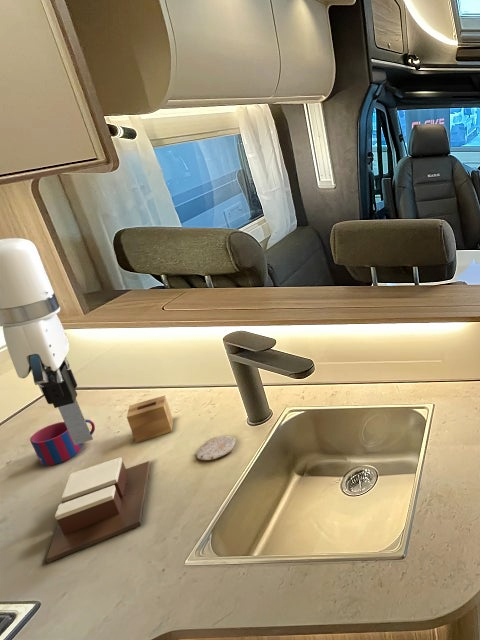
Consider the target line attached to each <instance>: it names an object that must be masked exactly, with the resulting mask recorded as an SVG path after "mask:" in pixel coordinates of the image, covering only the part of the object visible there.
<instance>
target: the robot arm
mask: <svg viewBox="0 0 480 640" xmlns="http://www.w3.org/2000/svg"><path fill="white" fill-rule="evenodd" d="M57 299H58V298H57V297H56V294H55V291H54V288H53V287H52V285H51V282H50V278H49V276H48V274H47V271H46V269H45V266H44V265H43V261H42V259H41V257H40V254H39V251H38V249H37V246H36V245H35V244H34V243H33V242H32V241H31V240H30V239H26V238H19V237H10V238H8V237H7V238H0V327H2V333H3V338H4V341H5V345H6V348H7V351H8V354H9V357H10V359H11V362H12V365H13V367H14V370H15V372H16V375H17V378H19V379H26V378H27V377H28V376H29V375H30V373H32V379H33V383H34V385H35V386H37V385H38V386H39V389H41V392H42V395H43V397H44V398H45V401H46V403H47V404H48V405H53V403H57V402H61V401H65V400H68V399H71V398H72V396H73V395H72V393H71V390H70V388H69V385H68V383H67V381H66V379H65V380H63V378H62V375H61V372H60V370H59V367H60V366H61V365H66V368H67V370H68V373H69V375H70V377H71V380H72V382H73V385H74V387H75V389H76V388H77V387H78V383H77V380H76V378H75V376H74V373H73V371H72V368H71V365H70V363H69V361H68V359H67V355H68V353H69V351H70V342H69V340H68V336H67V333H66V330H65V329H64V326H63V324H62V322H61V319H60V318H59V316H58V313H60V311H61V306H60V304H59V302H58V300H57ZM51 372H53V373H54V376H53V375H46V374H47V373H51Z"/></svg>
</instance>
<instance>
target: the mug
mask: <svg viewBox="0 0 480 640" xmlns="http://www.w3.org/2000/svg"><path fill="white" fill-rule="evenodd" d="M85 421H86V423H89V424H90V426H91V429H90V430H89V431H90V433H91V436H92V435H93V434H94V432H95V429H96V426H95V423H94V421H93V420H91V419H85ZM29 442H30V444H31V446H32V448H33V450H34V452H35V454H36V456H37V458H38V460H39V462H40V464H41V465H42V466H46V467H48V466H55V465H58V464H61V463H63V462H67V460H70V459H72V458H73V457H74V456H76V455H77V454H78V453H79V452H80V451H81V449H82V443H81V444H77V445H74V443H73V441H72V438H71V436H70V434H69V431H68V429H67V427H66V425H65V422H64V421H59V422H55V423H52V424H49V425H47V426H45V427H43V428H41V429H39V430H37V431H36V432H34V434H32V435H31V437H30V438H29Z"/></svg>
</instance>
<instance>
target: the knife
mask: <svg viewBox="0 0 480 640" xmlns="http://www.w3.org/2000/svg"><path fill="white" fill-rule="evenodd" d="M59 370H60V372H61V375H62V378H63V380H65V379H66V381H67V383H68V385H69V388H70V390H71V393H72V395H73V396H72V398H71V399H68V400H65V401H61V402H57V403H53V404H52V405H53V407H54V409H57V408H58V410H59V413H60V415H61V418H62V419H63V422H65V425H66V427H67V429H68V431H69V434H70V436H71V438H72V441H73V443H74V445H77V444H81V445H82V444H83V443H87V442H90V441H93V436H92V435H91V433H90V431H91V430H90V428H89V427H88V424H87V422H86V421H85V420H86V419H85V417H84V414H83V411H82V408H81V406H80V405H79V402H78V400H77V397H78V392H77V389H76V388H75V387H74V385H73V382H72V380H71V377H70V375H69V373H68V370H69V369H67V368H66V365H61V366H60V367H59ZM46 375H53V376H54V373H53V372H51V373H47V374H46Z"/></svg>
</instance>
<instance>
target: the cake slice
mask: <svg viewBox="0 0 480 640" xmlns="http://www.w3.org/2000/svg"><path fill="white" fill-rule="evenodd" d="M121 504H122V502H121V500H120V497H119V495H118V492H117V490H116V488H115V485H113V486H110V487H107V488H104V489H101V490H99V491H96V492H93V493H90V494H88V495H85V496H82V497H79V498H76V499H74V500H71V501H68V502H65V503H63V502H61V503H60V504H58V507H57V508H56V509H57V510H56V512H55V515H54V517H55V520H56V522H57V525H58V524H59V526H60V528H61V530H62V532H63V534H64V535H65V534H68V533H71V532H73V531H76V530H78V529H81V528H84V527H86V526H89V525H91V524H94V523H96V522H99V521H102V520H104V519H107V518H109V517H112V516H114V515H117V514H119V513H120V508H121Z"/></svg>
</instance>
